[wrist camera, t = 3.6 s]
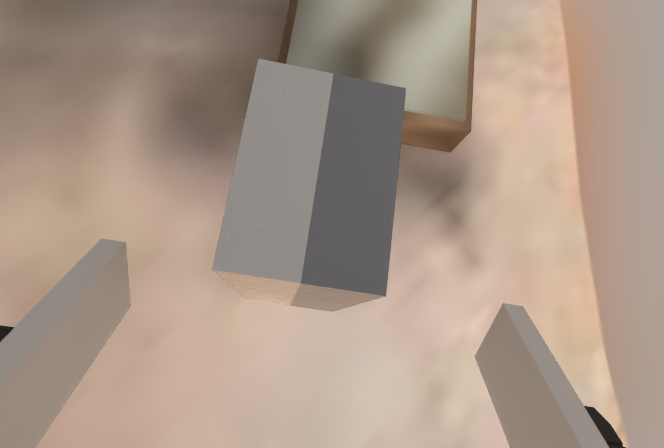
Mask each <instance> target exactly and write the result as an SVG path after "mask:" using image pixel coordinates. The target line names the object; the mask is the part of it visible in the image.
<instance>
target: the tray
mask: <svg viewBox="0 0 664 448" xmlns="http://www.w3.org/2000/svg"><path fill="white" fill-rule="evenodd" d="M476 11H477V0H291V1H290V6H289V11H288V16H287V20H286V25H285V30H284V35H283V40H282V45H281V50H280V55H279V60H278V63H283V64H288V65H293V66H298V67H303V68H308V69H313V70H318V71H323V72H328V73H333V74H338V75H343V76H348V77H353V78H358V79H363V80H368V81H373V82H378V83H383V84H388V85H393V86H398V87H403V88H406V96H405V106H404V117H403V127H402V137H401V143H403V144H409V145H414V146H419V147H425V148H430V149H435V150H441V151H446V152H451V151H452V150H453V149H454V148H455V147H456V146H457V145H458V144H459V143H460V142H461V141H462V140H463V139H464V138H465V137H466V136H467V135H468V134H469V133H470V132H471V120H472V98H473V76H474V55H475V33H476Z"/></svg>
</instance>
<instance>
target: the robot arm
mask: <svg viewBox="0 0 664 448" xmlns="http://www.w3.org/2000/svg"><path fill="white" fill-rule="evenodd" d="M130 306H131V304H130V291H129V278H128V265H127V252H126V242H119V241H113V240H107V239H101V240H100V241H99V242H98V243H97V244H96V245H95V246H94V247H93V248H92V249H91V250H90V251H89V252H88V253H87V254H86V255H85V256H84V257H83V258H82V259H81V260H80V261H79V262H78V263H77V264H76V265H75V266H74V267H73V269H72V270H71V271H70V272H69V273H68V274H67V275H66V276H65V277H64V278H63V279H62V280H61V281H60V282H59V283H58V284H57V285H56V286H55V287H54V288H53V289H52V290H51V291H50V292H49V293H48V294H47V295H46V296H45V297H44V298H43V299H42V300H41V301H40V302H39V303H38V304H37V305H36V306H35V307H34V308H33V309H32V310H31V311H30V312H29V313H28V314H27V315H26V316H25V317H24V318H23V320H22V321H21V322H20V323H19V324H18V325H17V326H16V327H15V328H14V327H7V326H0V448H35V447H36V446H37V444H38V443H39V441H40V440H41V439H42V437H43V436H44V434H45V433H46V431H47V430H48V428H49V427H50V425H51V424H52V422H53V421H54V419H55V418H56V416H57V415H58V413H59V412H60V410H61V409H62V407H63V406H64V404H65V403H66V401H67V400H68V398H69V397H70V395H71V394H72V392H73V391H74V389H75V388H76V386H77V385H78V383H79V382H80V380H81V379H82V377H83V376H84V374H85V373H86V371H87V370H88V368H89V367H90V366H91V364H92V363H93V361H94V360H95V358H96V357H97V355H98V354H99V352H100V351H101V349H102V348H103V346H104V345H105V343H106V342H107V340H108V339H109V337H110V336H111V334H112V333H113V331H114V330H115V328H116V327H117V325H118V324H119V322H120V321H121V319H122V318H123V316H124V315H125V313H126V312H127V310H128V309H129V307H130ZM475 358H476V361H477V363H478V366H479V369H480V371H481V374H482V376H483V379H484V381H485V384H486V387H487V389H488V392H489V394H490V397H491V399H492V402H493V405H494V407H495V410H496V412H497V415H498V417H499V420H500V423H501V425H502V428H503V430H504V433H505V435H506V438H507V441H508V443H509V446H510V448H625V447H623V446H622V444H623V443H622V442H621V440H620V438H619V437H618V435H617V434H616V432H615V431H614V429H613V428H612V426H611V425H610V424H609V423H608V422H607V421H606V419H605V418H604V417H603V416H602V415H601V414H600V413H599V412H598V411H597V410H596V409H595V408H594V407H587V406H584V405H583V404H582V402H581V400H580V399H579V397H578V396H577V394H576V392H575V391H574V389H573V387H572V386H571V384H570V382H569V381H568V379H567V378H566V376H565V374H564V373H563V371H562V369H561V368H560V366H559V364H558V363H557V361H556V360H555V358H554V356H553V355H552V353H551V351H550V350H549V348H548V346H547V345H546V343H545V341H544V340H543V338H542V337H541V335H540V333H539V332H538V330H537V328H536V327H535V325H534V323H533V322H532V320H531V319H530V317H529V315H528V314H527V312H526V310H525V309H524V307H523V306H517V305H510V304H504V303H503V304H502V306H501V308H500V310H499V312H498V314H497V316H496V318H495V319H494V321H493V323H492V325H491V327H490V329H489V331H488V333H487V335H486V336H485V338H484V340H483V342H482V344H481V346H480V348H479V350H478V351H477V353H476V355H475Z"/></svg>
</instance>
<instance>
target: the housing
mask: <svg viewBox="0 0 664 448" xmlns="http://www.w3.org/2000/svg"><path fill="white" fill-rule="evenodd" d="M405 96H406V88H403V87H398V86H393V85H388V84H383V83H378V82H373V81H368V80H363V79H358V78H353V77H348V76H343V75H338V74H333V73H328V72H323V71H318V70H313V69H308V68H303V67H298V66H293V65H288V64H283V63H278V62H274V61H269V60H264V59H259V58H258V62H257V67H256V71H255V76H254V80H253V85H252V90H251V94H250V99H249V103H248V108H247V112H246V117H245V122H244V126H243V131H242V135H241V140H240V144H239V149H238V153H237V158H236V163H235V167H234V172H233V176H232V181H231V185H230V190H229V195H228V199H227V204H226V208H225V213H224V217H223V222H222V227H221V231H220V236H219V240H218V245H217V249H216V254H215V259H214V263H213V268H212V270H213V271H214V272H215V273H216V274H218V275H219V276H220V277H221V278H222V279H223V280H225V281H226V282H227V283H228V284H229V285H230V286H232V287H233V288H234V289H235V290H236V291H238V292H239V293H240V294H241V295H242V296H243V297H245V298H246V299H250V300H257V301H264V302H271V303H278V304H284V305H291V306H298V307H305V308H312V309H319V310H325V311H336V310H339V309H343V308H346V307H350V306H353V305H357V304H360V303H364V302H367V301H371V300H374V299H378V298H381V297H385V296H386V289H387V279H388V269H389V259H390V249H391V239H392V228H393V218H394V208H395V198H396V188H397V178H398V167H399V157H400V147H401V137H402V127H403V117H404V106H405Z"/></svg>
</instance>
